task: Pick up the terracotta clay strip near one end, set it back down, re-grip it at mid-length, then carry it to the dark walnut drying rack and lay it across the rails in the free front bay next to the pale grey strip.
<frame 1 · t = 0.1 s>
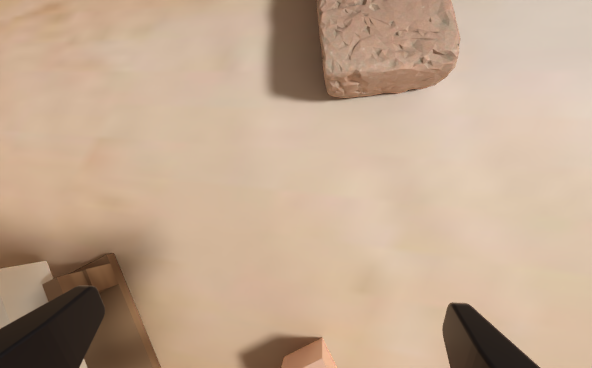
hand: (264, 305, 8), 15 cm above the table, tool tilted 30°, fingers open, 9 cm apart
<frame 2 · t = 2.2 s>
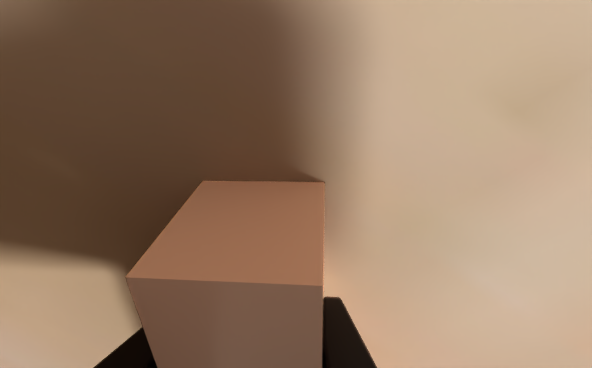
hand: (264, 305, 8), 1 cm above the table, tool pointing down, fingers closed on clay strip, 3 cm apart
clay strip: (279, 362, 11), on the table, touching gripper
when the fingers open (1 cm above the table, at t = 4.1 s): clay strip stays where it is, on the table.
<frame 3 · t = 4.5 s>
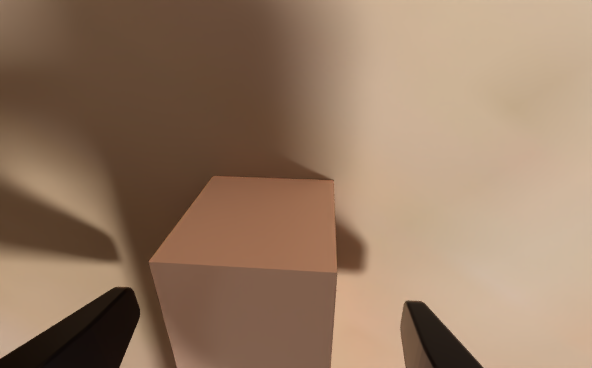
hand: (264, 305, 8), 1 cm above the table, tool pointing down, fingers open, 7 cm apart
clay strip: (280, 353, 11), on the table
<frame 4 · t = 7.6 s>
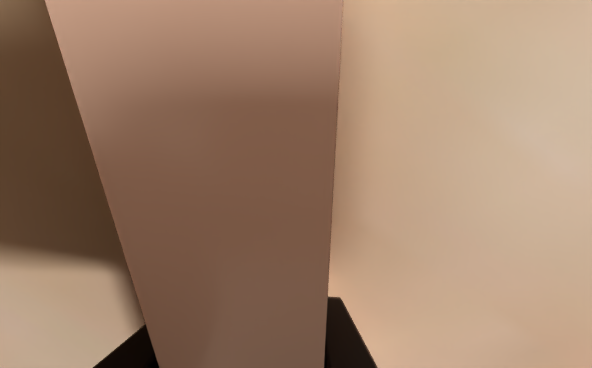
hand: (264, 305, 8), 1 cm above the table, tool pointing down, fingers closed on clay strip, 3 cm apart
clay strip: (272, 272, 9), on the table, touching gripper
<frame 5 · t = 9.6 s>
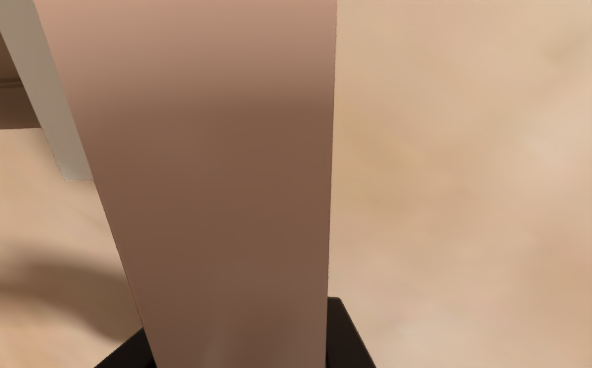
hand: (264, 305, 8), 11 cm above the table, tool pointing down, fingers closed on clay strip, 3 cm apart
clay strip: (272, 274, 9), point 10 cm above the table, touching gripper
when the fingers open (6 cm above the table, at t = 11.9 s): clay strip drops 2 cm, resting on rack.
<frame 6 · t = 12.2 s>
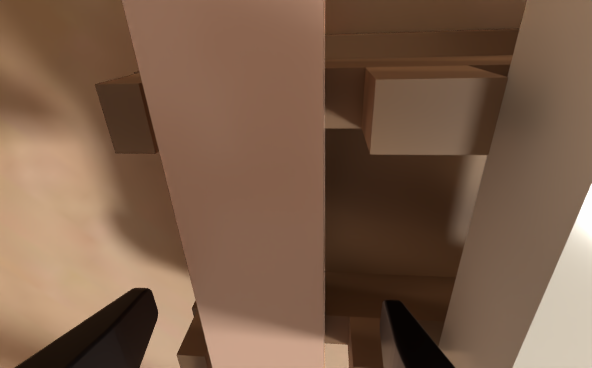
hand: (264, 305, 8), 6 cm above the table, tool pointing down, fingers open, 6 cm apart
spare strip: (515, 241, 10), point 3 cm above the table, touching rack
rack: (379, 192, 13), on the table
clay strip: (280, 234, 11), point 3 cm above the table, touching rack
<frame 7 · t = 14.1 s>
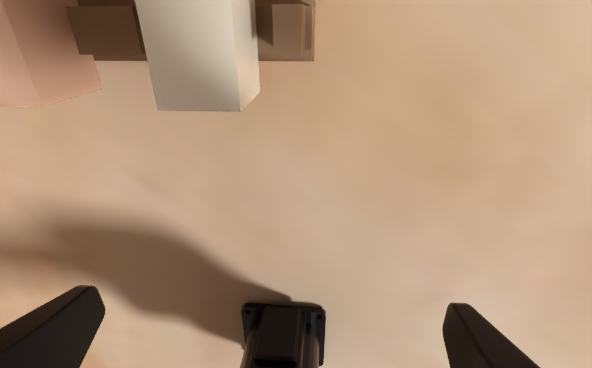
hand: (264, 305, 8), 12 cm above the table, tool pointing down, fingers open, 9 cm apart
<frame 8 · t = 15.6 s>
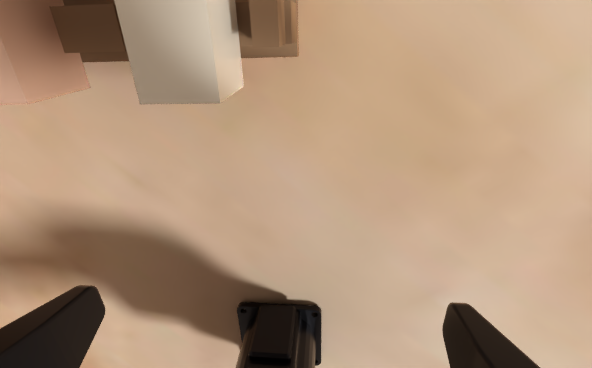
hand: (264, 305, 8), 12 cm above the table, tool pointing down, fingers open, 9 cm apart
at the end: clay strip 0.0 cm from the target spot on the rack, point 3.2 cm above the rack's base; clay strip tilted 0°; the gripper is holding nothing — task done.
